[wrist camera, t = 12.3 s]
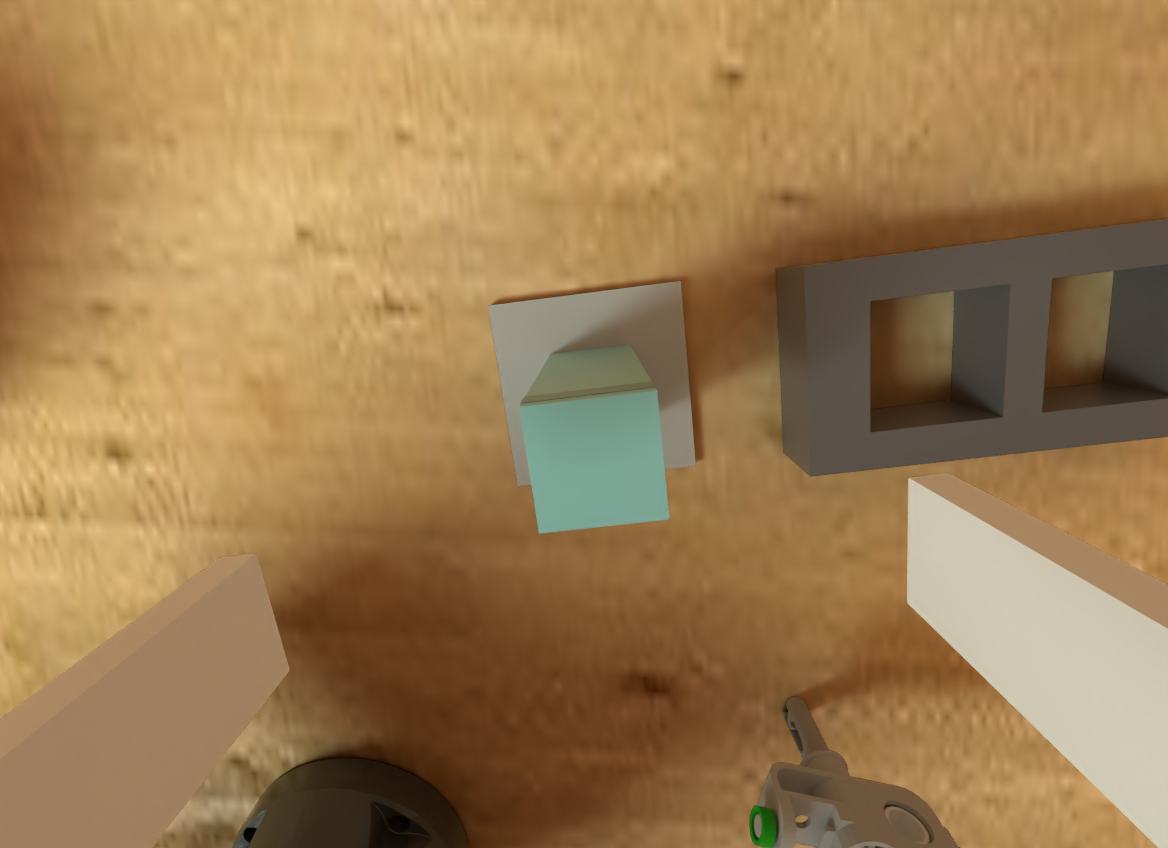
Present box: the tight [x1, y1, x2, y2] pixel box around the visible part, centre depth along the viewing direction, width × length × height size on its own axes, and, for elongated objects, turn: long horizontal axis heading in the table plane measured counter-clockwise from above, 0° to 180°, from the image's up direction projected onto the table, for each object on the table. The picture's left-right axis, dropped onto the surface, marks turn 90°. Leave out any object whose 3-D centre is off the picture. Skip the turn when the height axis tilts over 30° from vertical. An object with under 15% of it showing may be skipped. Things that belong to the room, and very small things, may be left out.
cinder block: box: [776, 218, 1168, 476], centre depth 28 cm, size 20×10×4 cm, turn 97°
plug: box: [519, 344, 669, 534], centre depth 24 cm, size 4×4×13 cm
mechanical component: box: [750, 697, 960, 848], centre depth 31 cm, size 3×10×10 cm, turn 77°
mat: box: [488, 281, 696, 486], centre depth 30 cm, size 10×10×1 cm
